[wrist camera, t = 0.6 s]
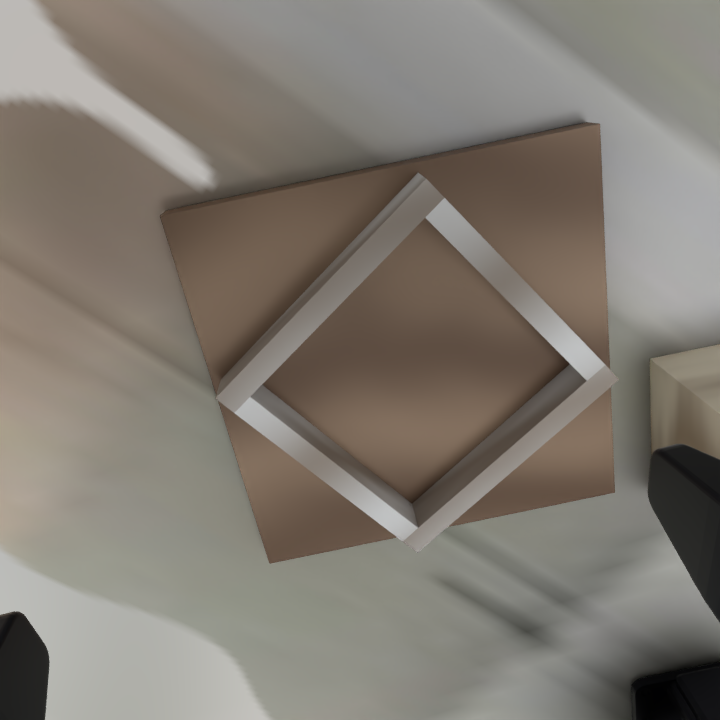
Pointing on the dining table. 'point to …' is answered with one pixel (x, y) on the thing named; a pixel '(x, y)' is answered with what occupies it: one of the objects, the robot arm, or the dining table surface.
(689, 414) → the ash block
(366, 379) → the socket board
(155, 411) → the dining table surface
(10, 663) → the robot arm
